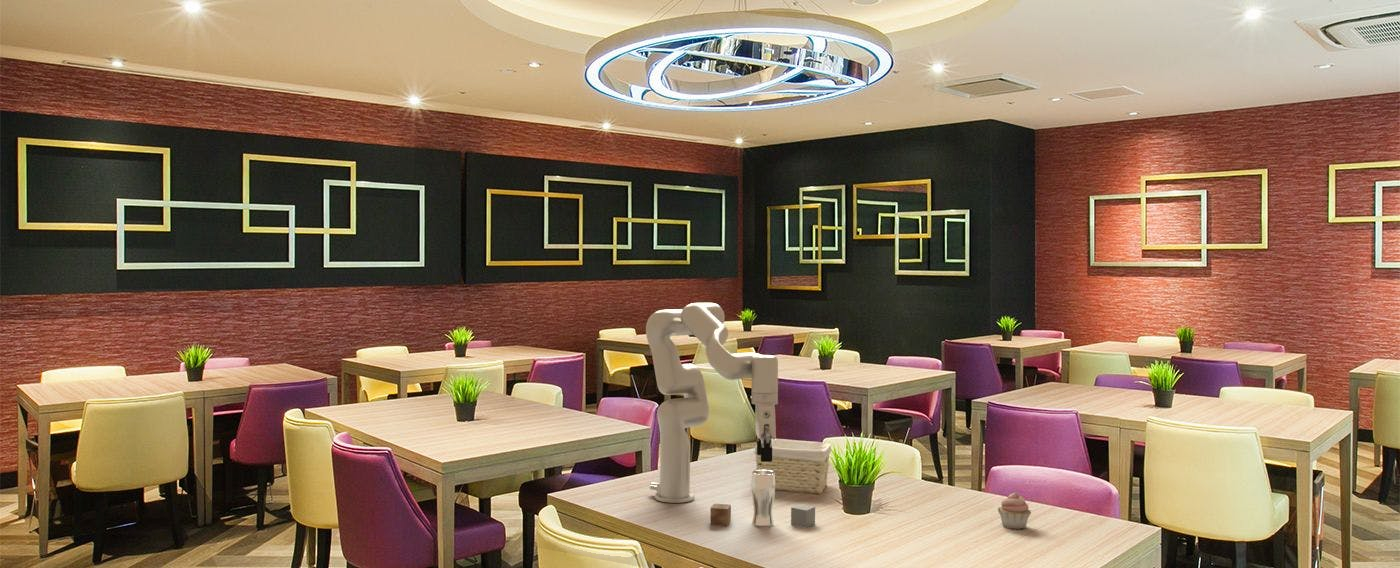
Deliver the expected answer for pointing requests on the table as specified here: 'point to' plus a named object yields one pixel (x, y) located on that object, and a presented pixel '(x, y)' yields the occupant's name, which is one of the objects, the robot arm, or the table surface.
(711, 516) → the walnut block
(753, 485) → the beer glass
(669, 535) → the table surface
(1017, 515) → the cupcake
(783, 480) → the storage basket
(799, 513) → the slate-grey block
